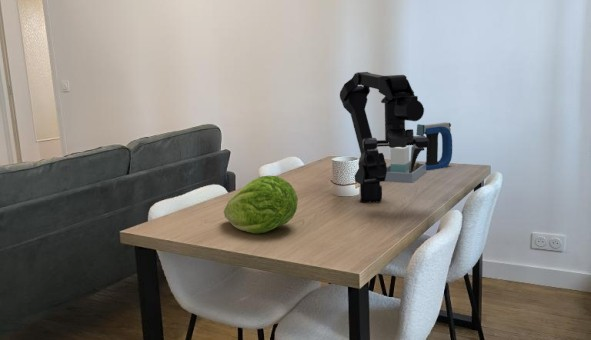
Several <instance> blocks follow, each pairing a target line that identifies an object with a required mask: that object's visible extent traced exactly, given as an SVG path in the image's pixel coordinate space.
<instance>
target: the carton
mask: <svg viewBox="0 0 591 340" xmlns="http://www.w3.org/2000/svg"><path fill="white" fill-rule="evenodd" d="M409 162H410V145H406V147H404V148H402V147H395V148H390V165H391V172H395V173H409Z"/></svg>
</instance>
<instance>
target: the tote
mask: <svg viewBox="0 0 591 340" xmlns="http://www.w3.org/2000/svg"><path fill="white" fill-rule="evenodd" d="M418 163H419V168H418V169H416V170H415V171H414V172H412V173H395V172H391V164H388V166H387V165H386V166H387V173H386V178H385V181H384V182H387V183H388V182H389V183H392V182H393V183H406V184H413V183H414V182H416V181H417V180H418V179H419V178H421V177H422V176H423V175H425V174H426V173H427V170H426V164H425V163H421V162H418Z"/></svg>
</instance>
